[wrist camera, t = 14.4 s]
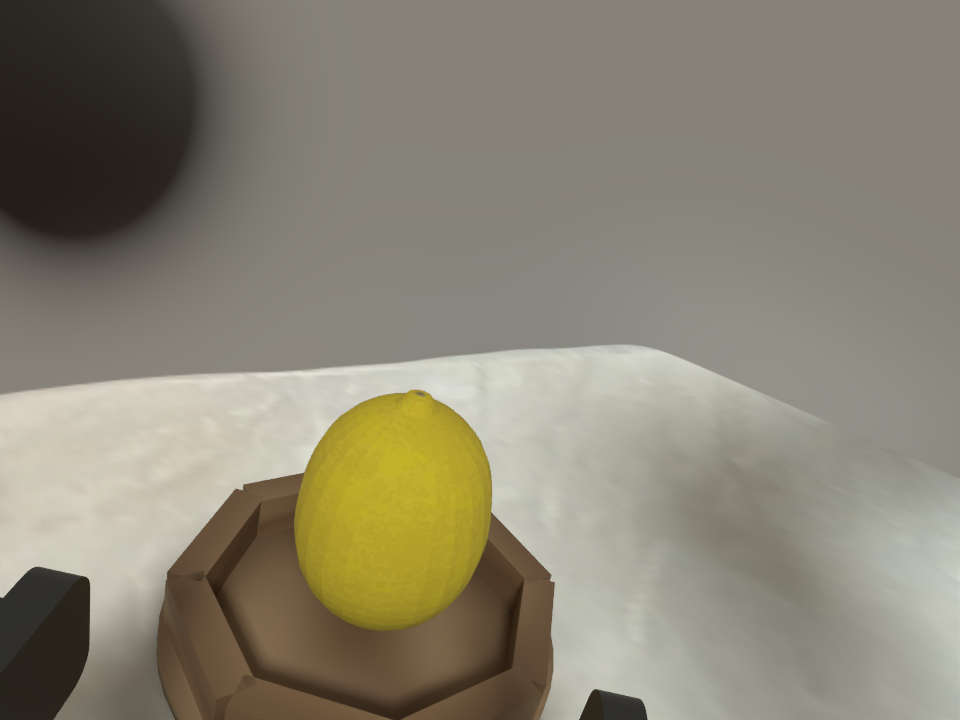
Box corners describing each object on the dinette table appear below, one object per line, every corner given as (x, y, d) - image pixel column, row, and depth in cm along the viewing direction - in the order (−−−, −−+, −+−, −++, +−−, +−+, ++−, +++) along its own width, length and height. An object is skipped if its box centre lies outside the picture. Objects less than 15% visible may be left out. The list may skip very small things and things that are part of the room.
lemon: (494, 638, 23) (562, 422, 19) (349, 727, 19) (405, 476, 16) (387, 536, 26) (430, 336, 23) (245, 594, 22) (272, 363, 19)
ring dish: (424, 479, 30) (433, 439, 30) (626, 703, 22) (647, 657, 22) (112, 549, 23) (112, 499, 22) (245, 920, 15) (255, 864, 14)
